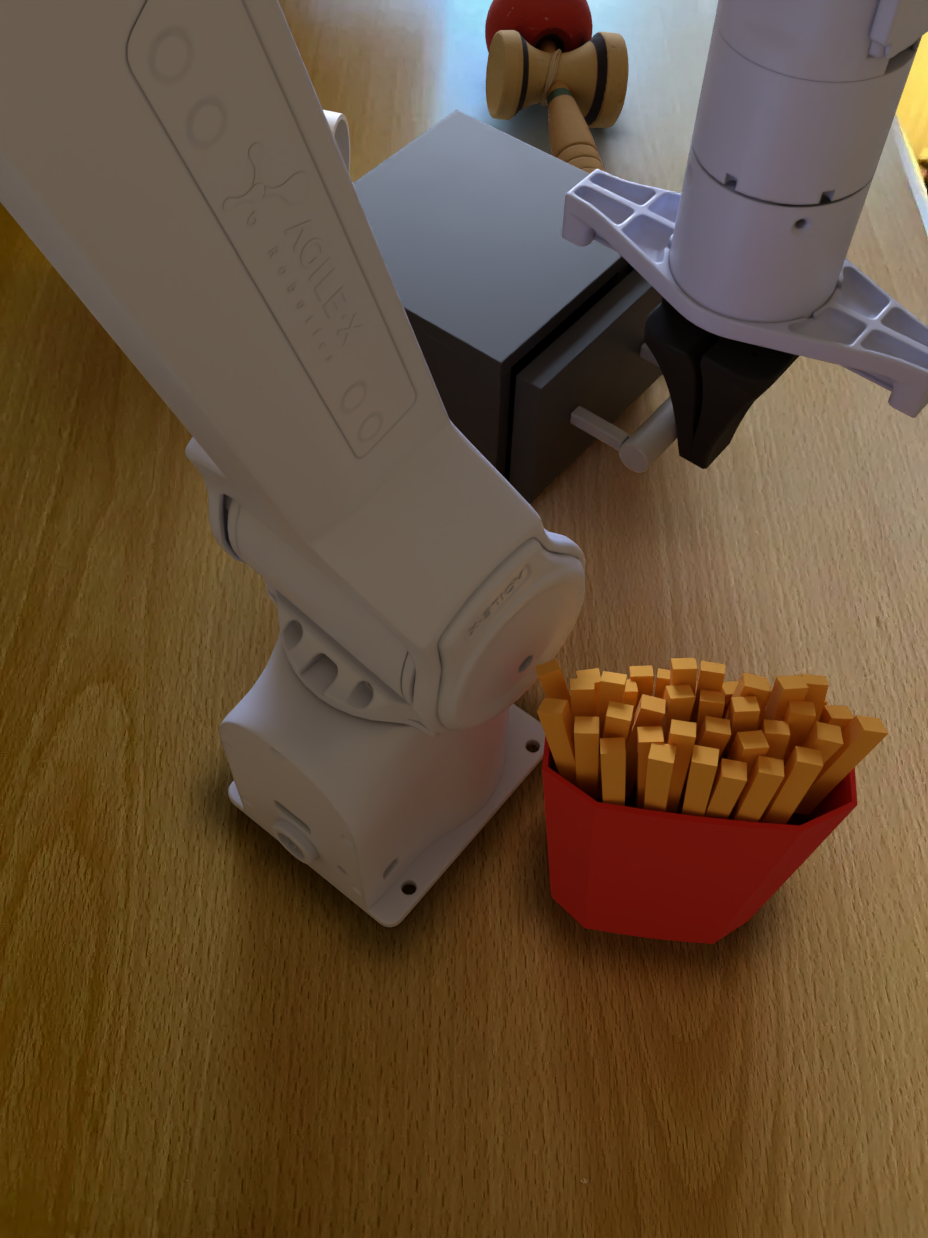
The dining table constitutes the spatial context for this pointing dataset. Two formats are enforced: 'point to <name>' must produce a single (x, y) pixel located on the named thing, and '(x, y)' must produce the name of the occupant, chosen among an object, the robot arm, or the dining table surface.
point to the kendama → (556, 72)
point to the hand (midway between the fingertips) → (704, 448)
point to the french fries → (689, 792)
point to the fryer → (480, 261)
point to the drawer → (587, 388)
